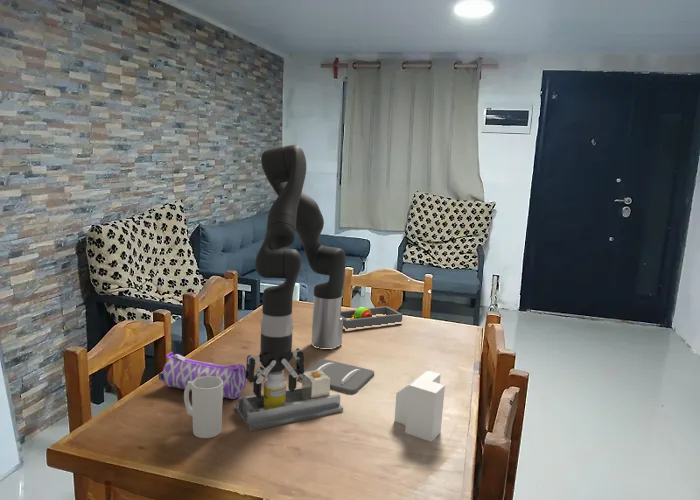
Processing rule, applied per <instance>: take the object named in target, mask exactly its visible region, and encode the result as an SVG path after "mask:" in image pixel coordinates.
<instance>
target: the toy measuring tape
mask: <svg viewBox="0 0 700 500" xmlns="http://www.w3.org/2000/svg"><path fill="white" fill-rule="evenodd" d="M368 308H369V307H368ZM368 308H367V307H364V306H360V307H358V308H356V309H355V310H356V311H355V312H354V315H352V318H351V319H359V318H368V317H372V313H371V311H370V310H369V309H368ZM383 315H385V314H383ZM351 319H350V320H351Z"/></svg>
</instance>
